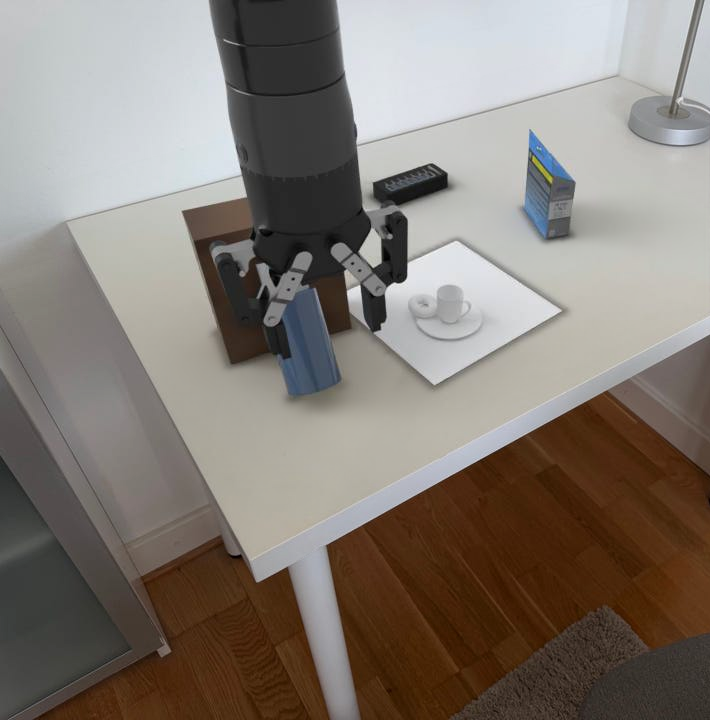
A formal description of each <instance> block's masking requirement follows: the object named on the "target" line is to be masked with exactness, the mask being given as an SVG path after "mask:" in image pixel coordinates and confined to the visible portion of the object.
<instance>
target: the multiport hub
mask: <svg viewBox="0 0 710 720" xmlns="http://www.w3.org/2000/svg"><path fill="white" fill-rule="evenodd" d="M448 187H449V173H448V172H447V171H446V170H444V169H442V168H441V167H439V166H438V165H437V164H435V163H432V162H430V163H427V164H423V165H420V166H417V167H415V168H412V169H409V170H406V171H403V172H400V173H397V174H394V175H390V176H388V177H385V178H381V179H379V180H376V181H373V182H372V192H373V198H374V199H375V200H376V201H378V202H379V203H380V204H381V205H382V204H383V203H384V202H385V201H388V200H391V201H393V202H394V203H395V204H396V206H397V207H399V206H400V205H403V204H406V203H408V202H411V201H414V200H417V199H420V198H422V197H426V196H428V195H432V194H434V193H436V192H439V191H443V190H446V189H447V188H448Z"/></svg>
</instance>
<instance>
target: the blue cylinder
mask: <svg viewBox="0 0 710 720" xmlns="http://www.w3.org/2000/svg"><path fill="white" fill-rule="evenodd" d="M266 266H267V265H266V264H265V263H263V262H260V263H257V264H256V268H257V271H258V275H259V278H260V281H261V285H262V284H263V274H264V271H265V268H266ZM282 319H283V322H284V324H285V328H286V333H287V337H288V342H289V346H290V351H291V355H292V358H289V359H286V360H282V357H281V355H280V354H279V355H276V359H277V361H278V365H279V368H280V370H281V371H280V372H281V374H282V377H283V380H284V384H285V387H286V390H287V393H288V395H289V396H293V397H301V396H308V395H313V394H317V393H319V392H323V391H325V390H328V389H331V388H333V387H335V386H336V385H338V384H339V383H341V381H342V379H343V378H342V375H341V372H340V367H339V364H338V360H337V357H336V354H335V350H334V346H333V343H332V340H331V335H329V332H328V329H327V325H326V321H325V318H324V314H323V311H322V307H321V304H320V300H319V297H318V293H317V290H316V287H315V286H309V285H305V286H302V285H301V284H300V285H299V287H298V289H297V291H296V294H295V296H294V298H293V300H292V302H291V303H288V304H287V306H286V308H285V310H284V313H283V315H282Z"/></svg>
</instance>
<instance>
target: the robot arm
mask: <svg viewBox="0 0 710 720" xmlns="http://www.w3.org/2000/svg"><path fill="white" fill-rule="evenodd" d="M208 7H209V15H210V20H211V26H212V30H213V33H214V34H213V35H214V37H215V42H216V47H217V51H218V56H219V60H220V65H221V69H222V73H223V78H224V85H225V92H226V103H227V105H226V106H227V114H228V119H229V124H230V130H231V134H232V138H233V142H234V148H235V151H236V155H237V159H238V160H237V161H238V164H239V168H240V173H241V177H242V182H243V187H244V190H245V191H244V192H245V194H246V197H247V199H248V204H249V208H250V212H251V217H252V222H253V227H252V231H251V234H250V237H249V239H248V240H244V241H241V242H237V243H234V244H230V245H227V244H226V243H225V242H224V241H221V240H218V241H214V242H213V243H212V244H211V245H210V248H209V249H210V252H211V255H212V258H213V261H214V263H215V266H216V269H217V272H218V274H219V277H220V280H221V283H222V285H223V288H224V291H225V293H226V296H227V299H228V302H229V304H230V307H231V309H232V311H233V313H234V316H235V319H236V321H237V324H238V325H239V326H241V327H248V326H250V325H251V324H252V323H260V324H262V326H263V330H264V334H265V338H266V342H267V344H268V346H269V349H270V351H271V352H270V353H271V354H272V355H273V356H274V357H277V355H279V354H280V355H281V357H282V360H286V359H289V358H292V355H291V351H290V346H289V342H288V337H287V333H286V328H285V324H284V322H283V319H282V315H283V313H284V310H285V308H286V306H287V304H288V303H291V302H292V300H293V298H294V296H295V294H296V291H297V289H298V287H299V285H300V284H301V285H302V286H305V285H309V284H312V283H314V282H316V281H318V280H320V279H322V278H335V277H339V276H342V275H343V272H344V273H345V271H348V273H350V275H352V276H353V278H354V279H356V280H357V282H359V285H360V288H361V296H362V305H363V314H364V319H365V321H366V323H367V325H368V327H369V328H370V329H369V328H368V329H369V331H371V333H372V334H374V332H377V331H380V330H381V324H382V323H385V321H386V318H387V313H386V301H385V292H386V289H387V288H388V287H389V286H390V285H391V284H393V283H397V284H400V283H403V282H404V281H405V280H406V279H407V269H408V263H409V262H408V261H409V260H408V258H409V257H408V255H409V254H408V253H409V251H408V249H409V245H408V244H409V239H408V238H409V220H408V217H406V215H405V214H404V213H403V211H401V209H400V208H399V206H396V204H395V203H394V202H393V201H391V200H388V201H385V202H384V203H383V204H382V203H381V204H380V207H379V209H373V210H368V211H365V210H364V207H363V205H364V204H363V202H364V201H363V195H362V194H363V193H362V183H361V174H360V164H359V154H358V145H357V144H358V143H357V142H358V141H357V140H358V128H357V124H356V121H355V115H354V114H355V113H354V108H353V107H354V106H353V102H352V98H351V93H350V90H349V85H348V81H347V74H346V69H345V58H344V50H343V41H342V31H341V20H340V13H339V7H338V1H337V0H208ZM372 229H374V231H375V232H376V234H377V236H378V237H379V238H380V255H381V256H380V259H381V260H380V261H381V263H379V264H377V265H376V266H374V267H373V266H372V265H371V264H370V263H369V262H368V260H367V259H366V258H365V257H364V256H363V255H362V253H360V250H361V248H362V247H363V245H364V243H365V242H366V240H367V238H368V237H369V234H370V233H371V230H372ZM254 257H257V258H258V259H259V260H260V261H262V262H263V263H265V264H266V265H267V266H266V268H265V271H264V274H263V284H262V286H261V289H260V291H259V293H258V296H257V298H256V299H255V298H247V296H246V293H245V290H244V287H243V284H242V281H241V278H240V277H244V276H245V275H246V273H247V272H248V270H249V261H250V260H251V259H252V258H254Z"/></svg>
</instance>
